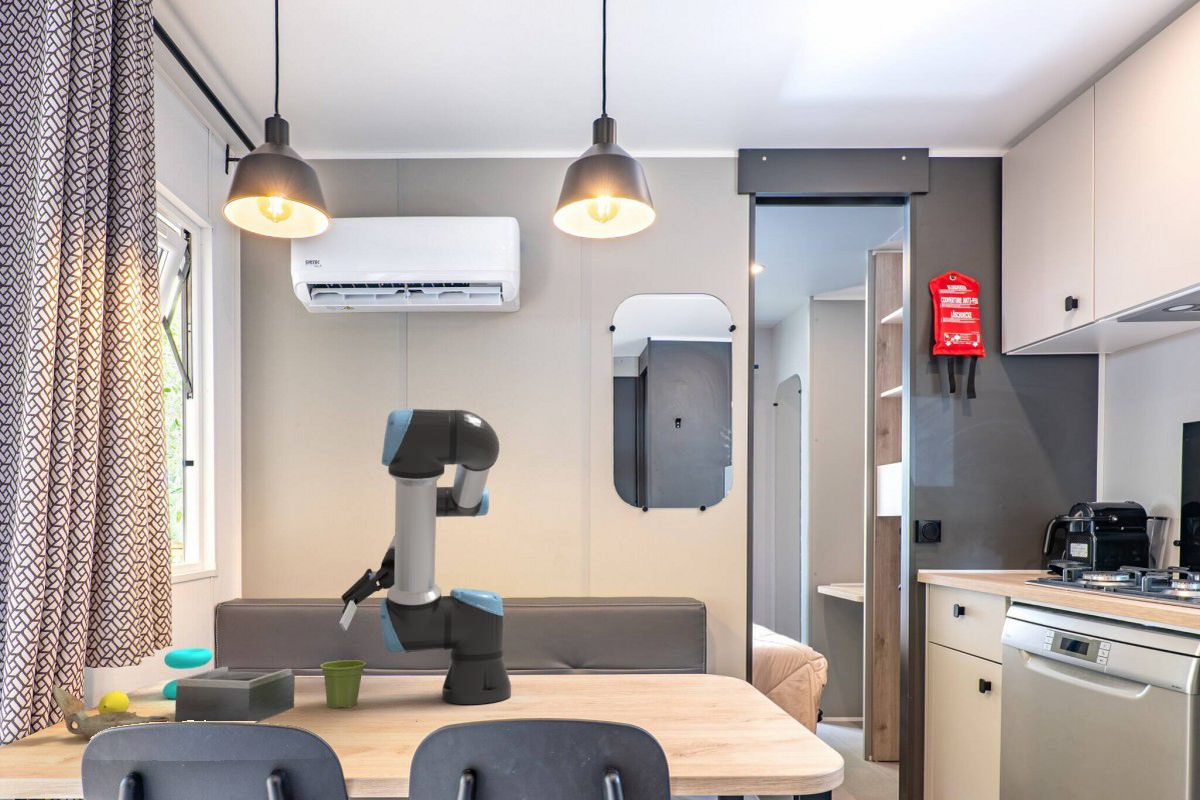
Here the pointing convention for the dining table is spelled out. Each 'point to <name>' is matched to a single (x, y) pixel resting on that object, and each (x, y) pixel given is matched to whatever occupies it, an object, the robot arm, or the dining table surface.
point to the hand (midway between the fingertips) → (369, 627)
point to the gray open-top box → (234, 695)
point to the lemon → (113, 702)
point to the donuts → (184, 664)
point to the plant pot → (342, 682)
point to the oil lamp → (95, 716)
